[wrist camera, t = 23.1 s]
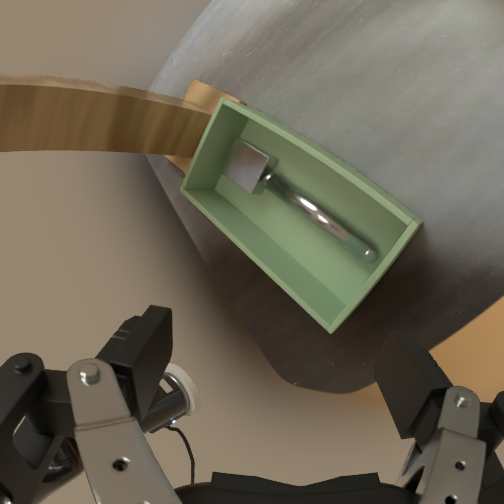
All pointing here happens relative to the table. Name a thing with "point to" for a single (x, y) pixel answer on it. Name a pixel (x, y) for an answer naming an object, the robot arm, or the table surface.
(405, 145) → the table surface
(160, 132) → the shelf stand
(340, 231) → the silver square-headed tool
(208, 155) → the bin
